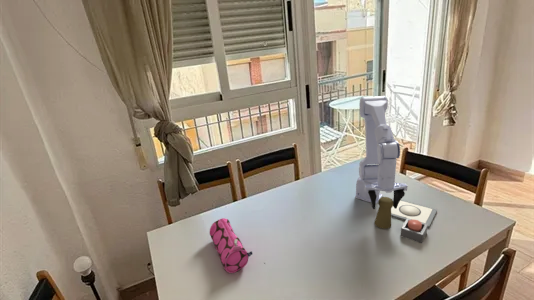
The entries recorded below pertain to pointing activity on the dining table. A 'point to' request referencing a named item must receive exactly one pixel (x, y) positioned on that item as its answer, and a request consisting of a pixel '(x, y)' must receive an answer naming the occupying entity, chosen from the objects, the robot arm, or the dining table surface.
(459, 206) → the dining table surface
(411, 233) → the button base
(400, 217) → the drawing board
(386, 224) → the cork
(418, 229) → the button
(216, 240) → the pencil case
